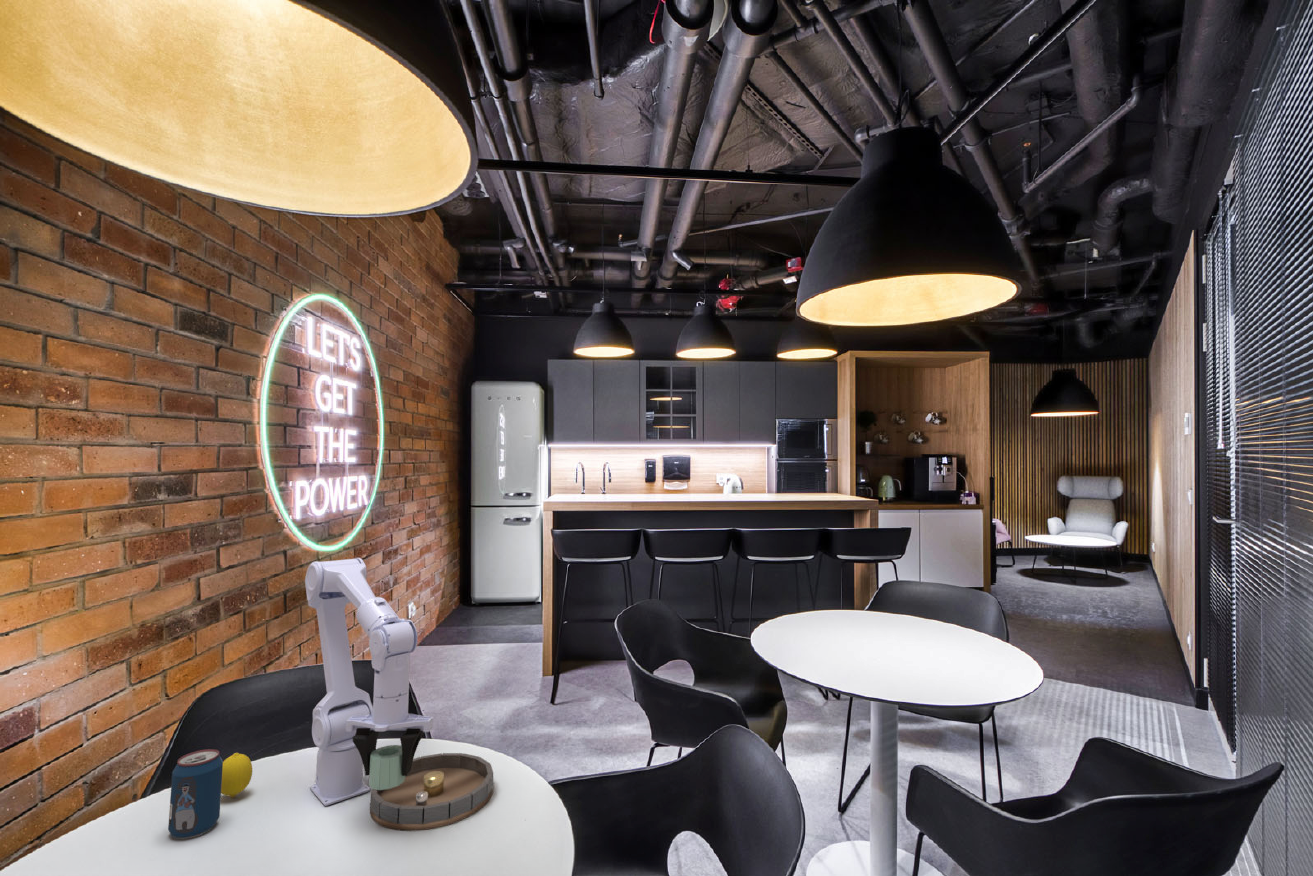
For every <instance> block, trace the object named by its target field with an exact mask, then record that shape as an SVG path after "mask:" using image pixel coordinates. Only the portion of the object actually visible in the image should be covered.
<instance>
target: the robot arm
mask: <svg viewBox="0 0 1313 876" xmlns="http://www.w3.org/2000/svg"><path fill="white" fill-rule="evenodd" d="M367 570H368V569H367V565H366V564H365V562H364V560H363V559H362V558H360V557H355V558H349V559H339V560H338V559H337V560H327V561H326V560H325V561H313V562H311V563H310V564H309V566H308V567H307V569H306V572H305V573H306V574H305V577H304V584H305V591H306V592H305V593H306V600H307V605H308V606H309V607H311V608H312V609H315V610H316V616H317V625H318V632H319V641H320V648H321V655H322V664H323V671H324V680H325V687H326V688H325V689H326V694H325V696H324V697H323V698H322V699H321V700H320V701H319V702H318V703H317V704H316V706H315V707H314V708H313V709H312V725H311V736H312V741H313V743H314V745H315V746H316V748H318V750H317V753H316V764H315V765H316V770H315V783H314V784H311V785H310V786H309V789H310V790H311V792H312V793H313V794H314V795H315V797H316V798H317V799H318V800H319V801H320V802H321V803H322V805H324V806H325V807H326V806H327V807H328V806H330V805H333V804H337V803H338V802H342V801H345V800H347V799H351V798H353V797H355V796H359V795H362V794H365V793H368V792H371V787H370V786H369V785H367V783H365V782H364V781H363V773H364V774H365V776H369V775H370V755H371V753H372V752H373V751H374V750H376V749H377V745H378V737H379V733H380V732H387V731H405V733H404V734H402V735H401V736H400V739H399V741H400V745H401V746H402V776H406V775H407V774H408V773H409V772H410V771H411V766H412V762H413V759H415V754H416V752H417V749H418V747H419V744H420V741H421V740H422V737H423V736H424V734H425V733H429V732H430V731H431V730H433V728H434V716H427V715H420V714H414V713H409V697H410V696H409V695H410V694H409V693H410V672H411V671H410V668H411V654H412V653H413V652H414V651H415V650H416V648H417V646H418V630H417V627H416V626H415V624H414V622H413V620H411V619H405V618H404V617H403V618H400V617H399V616H398V614H397V613H396V612H395V610H394V609H393V607H392V606H391V605H390V603H388V601H387V600H386V599H385V598H384V597H379V596H377V597H376V595H375V593H374V591H373V589H372V588H371V587H370V585H369V583H368V581H367V574H368V573H367ZM349 603H351V604H352V605H353V606H354V607H355V608H356V613H355V618H356V620H357V622H358V624H359V625H360V626H361V628H362V630H363V631H364V632H365V633H366V635H367V637H368V638H369V640H368V647H369V651H370V656H371V667H372V669H374V675H373V676H374V681H373V699H372V700H373V703H372V701H371V697H370V693H368V692H367V691H365V690H364V689H361V688H359V687H357V686H356V682H355V676H354V667H353V662H352V654H351V647H350V640H349V639H350V638H349V631H348V626H347V625H348V624H347V619H346V612H345V608H346V606H347V605H348V604H349ZM347 705H348V706H347ZM343 706H345V707H343ZM341 707H342V708H341ZM337 708H338V709H337ZM332 709H334V710H332ZM330 710H331V711H330ZM363 769H364V770H363Z"/></svg>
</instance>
